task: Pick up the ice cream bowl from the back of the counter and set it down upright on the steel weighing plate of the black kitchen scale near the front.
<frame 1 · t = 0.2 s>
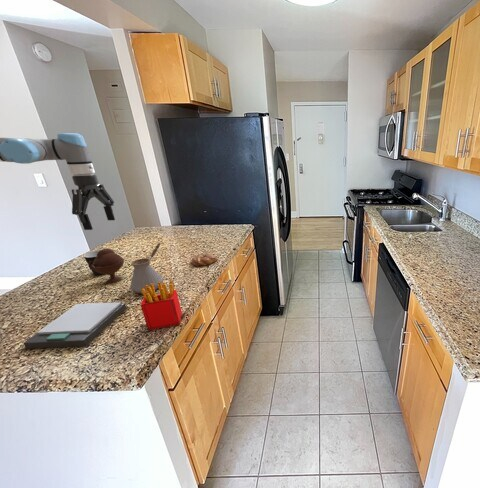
hand: (100, 224, 113), 24 cm above the countertop, tool pointing down, fingers open, 13 cm apart
coffee mug: (100, 274, 120), on the countertop
coffee pot: (155, 283, 113), on the countertop
french fries container: (166, 322, 89), on the countertop
pretzel: (204, 262, 132), on the countertop
ice cream bowl: (114, 281, 115), on the countertop
scale: (82, 327, 87), on the countertop
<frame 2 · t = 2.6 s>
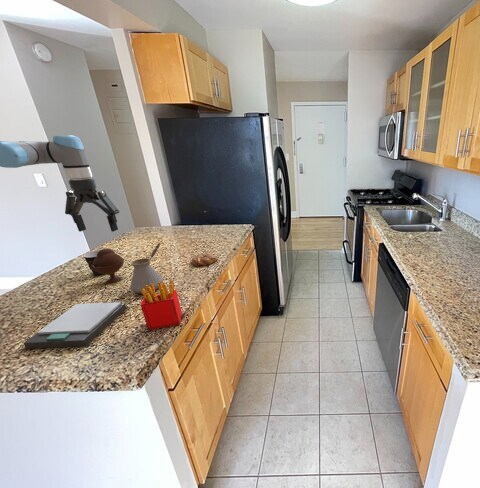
hand: (98, 230, 108), 23 cm above the countertop, tool pointing down, fingers open, 13 cm apart
nothing on the countertop moved.
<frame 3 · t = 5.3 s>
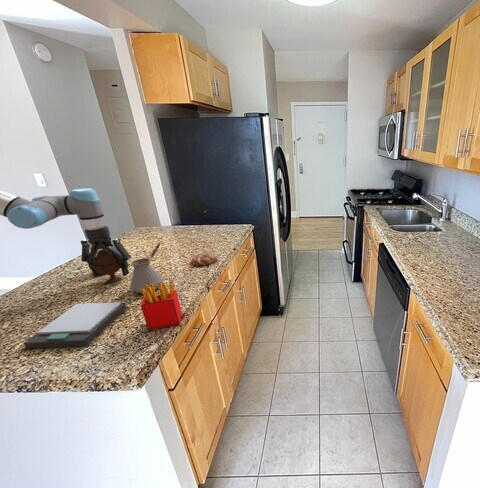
hand: (112, 275, 113), 3 cm above the countertop, tool pointing down, fingers closed on ice cream bowl, 11 cm apart
ice cream bowl: (114, 281, 115), on the countertop, touching gripper
everything else where it was.
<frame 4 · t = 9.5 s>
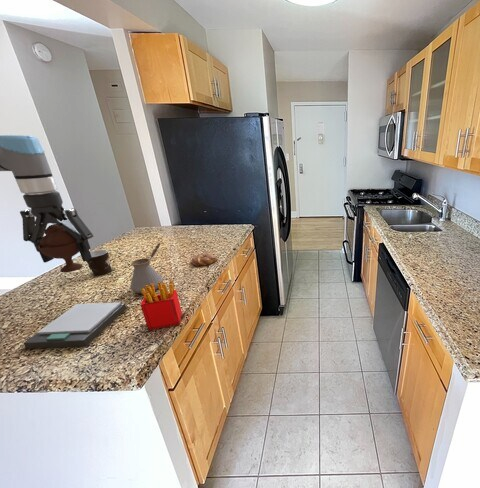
hand: (68, 260, 84), 22 cm above the countertop, tool pointing down, fingers closed on ice cream bowl, 11 cm apart
ice cream bowl: (72, 269, 85), point 19 cm above the countertop, touching gripper
everything else where it was.
when the fingers open (6 cm above the countertop, at t = 14.0 s): ice cream bowl stays where it is, resting on scale.
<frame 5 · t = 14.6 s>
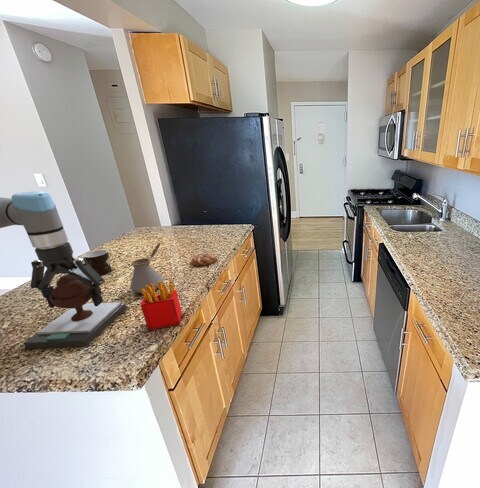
hand: (77, 304, 85), 8 cm above the countertop, tool pointing down, fingers open, 13 cm apart
ice cream bowl: (82, 316, 87), point 3 cm above the countertop, touching scale
everything else where it was.
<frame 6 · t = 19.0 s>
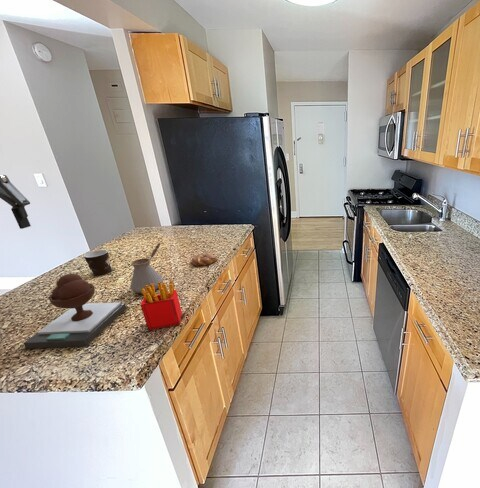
hand: (3, 227, 83), 32 cm above the countertop, tool pointing down, fingers open, 13 cm apart
nothing on the countertop moved.
at the end: ice cream bowl inside the target area on the scale (0.0 cm from its centre), point 3.1 cm above the scale's base; ice cream bowl tilted 0°; the gripper is holding nothing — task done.
